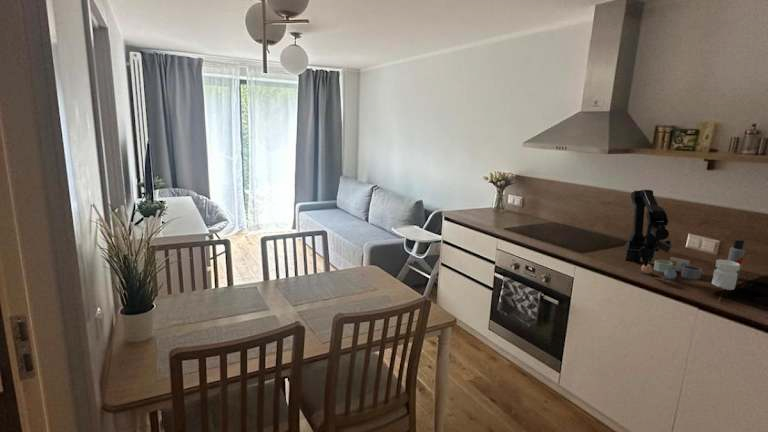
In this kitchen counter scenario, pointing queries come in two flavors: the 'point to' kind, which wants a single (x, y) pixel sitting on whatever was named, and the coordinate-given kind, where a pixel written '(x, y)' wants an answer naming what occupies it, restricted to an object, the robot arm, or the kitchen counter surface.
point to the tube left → (662, 265)
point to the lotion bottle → (737, 253)
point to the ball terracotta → (647, 269)
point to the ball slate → (670, 273)
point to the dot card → (678, 263)
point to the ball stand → (664, 277)
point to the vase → (725, 274)
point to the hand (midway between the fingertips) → (647, 263)
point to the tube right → (691, 272)
